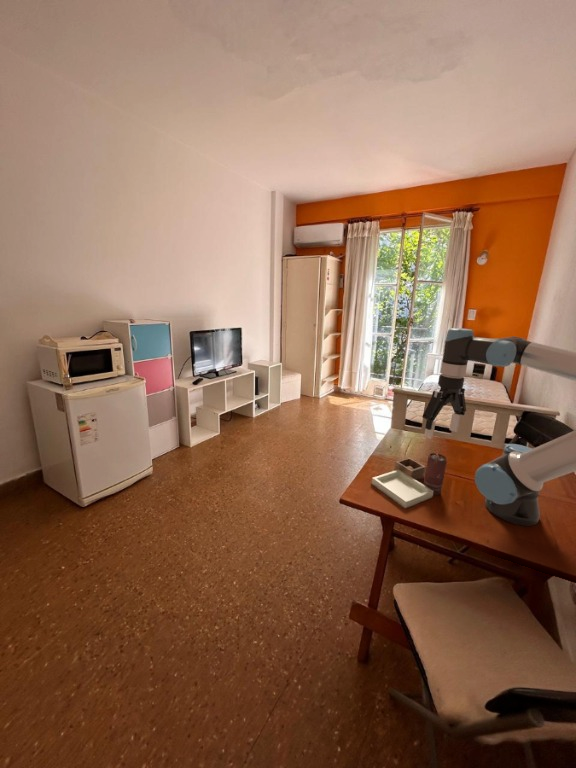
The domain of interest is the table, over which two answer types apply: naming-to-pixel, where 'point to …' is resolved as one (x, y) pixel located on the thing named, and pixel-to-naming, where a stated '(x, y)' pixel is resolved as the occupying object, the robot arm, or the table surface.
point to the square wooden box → (415, 473)
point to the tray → (402, 488)
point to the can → (435, 472)
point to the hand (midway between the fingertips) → (441, 434)
